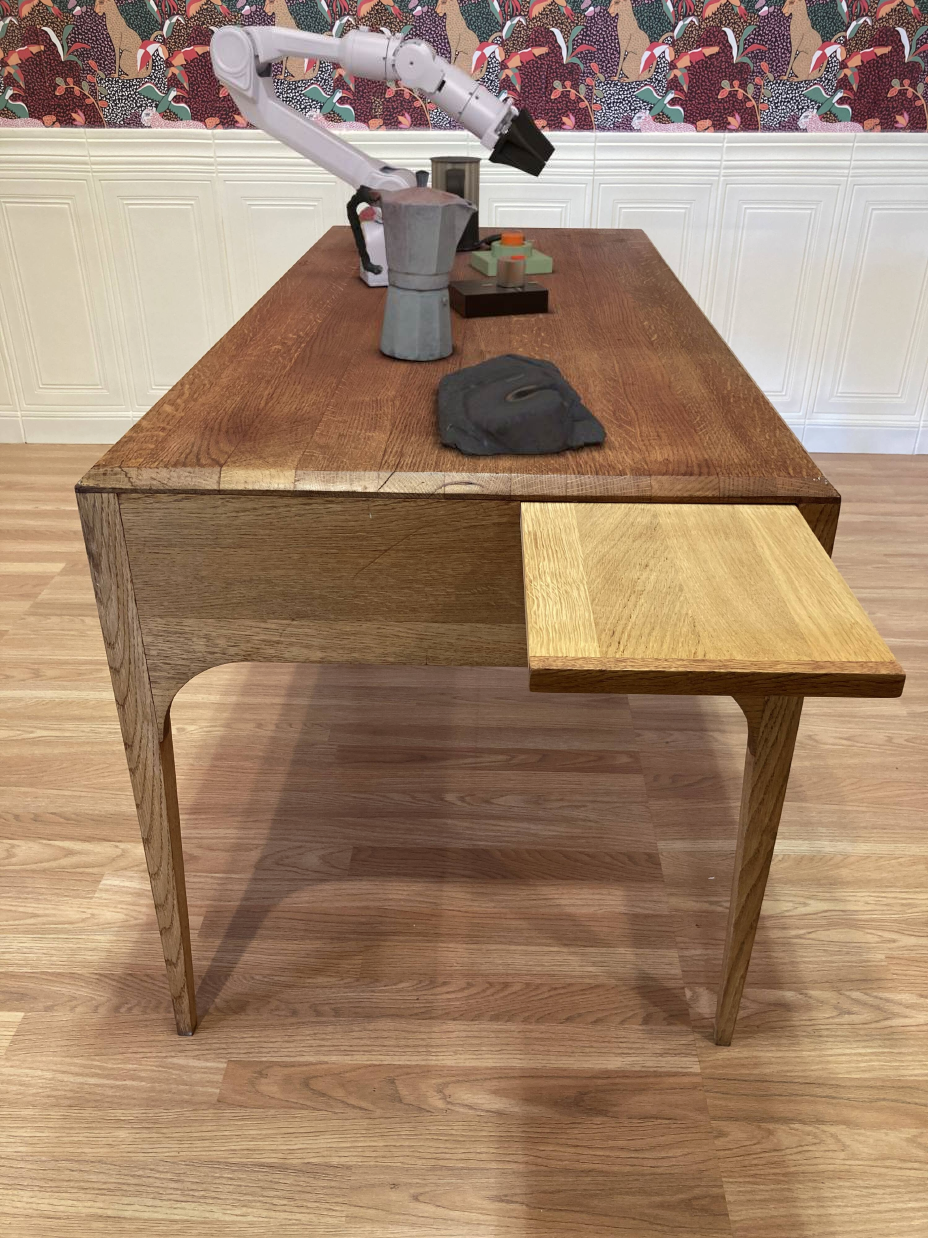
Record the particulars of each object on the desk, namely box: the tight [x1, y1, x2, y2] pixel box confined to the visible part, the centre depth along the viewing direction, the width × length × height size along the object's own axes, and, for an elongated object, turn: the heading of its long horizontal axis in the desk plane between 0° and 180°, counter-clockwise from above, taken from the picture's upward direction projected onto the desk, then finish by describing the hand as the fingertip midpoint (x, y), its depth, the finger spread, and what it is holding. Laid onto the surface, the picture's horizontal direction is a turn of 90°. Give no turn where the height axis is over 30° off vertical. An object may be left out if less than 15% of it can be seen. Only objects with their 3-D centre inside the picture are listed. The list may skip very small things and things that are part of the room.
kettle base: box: [471, 240, 554, 277], centre depth 158 cm, size 11×9×4 cm
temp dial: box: [495, 255, 526, 287], centre depth 133 cm, size 4×4×4 cm
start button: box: [500, 232, 524, 246], centre depth 157 cm, size 4×4×2 cm
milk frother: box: [429, 155, 526, 251], centre depth 171 cm, size 14×16×15 cm
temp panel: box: [447, 276, 550, 319], centre depth 135 cm, size 12×9×3 cm
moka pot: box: [345, 169, 478, 362], centre depth 110 cm, size 10×15×20 cm, turn 78°
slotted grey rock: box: [437, 353, 607, 456], centre depth 95 cm, size 15×22×5 cm
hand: (546, 162), depth 139 cm, fingers open, 7 cm apart
